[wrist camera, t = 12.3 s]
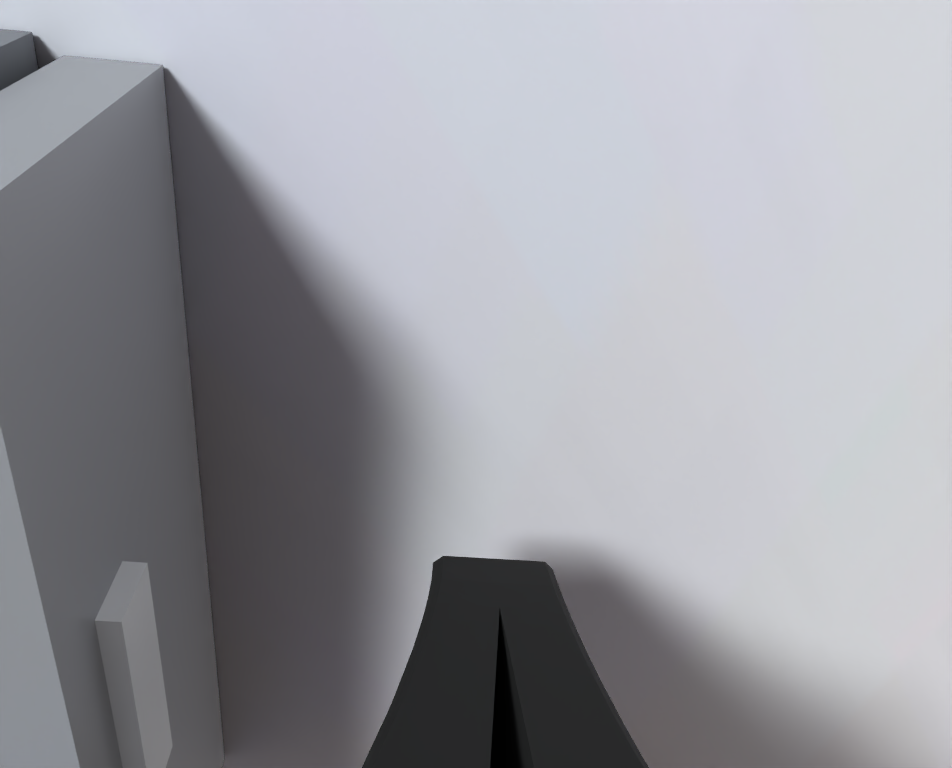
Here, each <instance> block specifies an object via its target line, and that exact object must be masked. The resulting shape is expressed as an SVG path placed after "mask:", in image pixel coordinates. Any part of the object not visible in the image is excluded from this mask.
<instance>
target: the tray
mask: <svg viewBox="0 0 952 768" xmlns="http://www.w3.org/2000/svg"><path fill="white" fill-rule="evenodd" d="M224 759H225V756H224V745H223V733H222V722H221V711H220V700H219V689H218V677H217V666H216V655H215V644H214V633H213V622H212V610H211V599H210V588H209V577H208V566H207V554H206V543H205V532H204V521H203V510H202V498H201V487H200V476H199V465H198V454H197V443H196V431H195V420H194V409H193V398H192V387H191V375H190V364H189V353H188V342H187V331H186V319H185V308H184V297H183V286H182V275H181V264H180V252H179V241H178V230H177V219H176V208H175V196H174V185H173V174H172V163H171V152H170V140H169V129H168V118H167V107H166V96H165V84H164V73H163V65H159V64H148V63H138V62H127V61H117V60H106V59H96V58H85V57H75V56H62V57H60V58H58V59H57V60H55V61H53V62H51V63H49V64H48V65H46V66H44V67H42V68H40V69H39V70H37V71H35V72H33V73H31V74H30V75H28V76H26V77H24V78H22V79H21V80H19V81H17V82H15V83H13V84H12V85H10V86H8V87H6V88H4V89H3V90H1V91H0V768H222V767H223V763H224Z"/></svg>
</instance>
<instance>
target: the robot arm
mask: <svg viewBox="0 0 952 768" xmlns="http://www.w3.org/2000/svg"><path fill="white" fill-rule="evenodd" d="M362 768H649V767H648V766H647V764H646V762H645V761H644V759H643V757H642V756H641V754H640V752H639V750H638V749H637V747H636V745H635V743H634V742H633V740H632V738H631V736H630V735H629V733H628V731H627V729H626V727H625V726H624V724H623V722H622V720H621V718H620V716H619V714H618V712H617V711H616V709H615V707H614V705H613V703H612V701H611V699H610V697H609V695H608V694H607V692H606V690H605V688H604V686H603V684H602V682H601V680H600V678H599V676H598V674H597V672H596V670H595V668H594V666H593V664H592V662H591V660H590V658H589V656H588V654H587V652H586V649H585V647H584V645H583V643H582V641H581V639H580V637H579V634H578V632H577V630H576V628H575V625H574V623H573V621H572V619H571V616H570V614H569V612H568V609H567V607H566V604H565V602H564V599H563V597H562V594H561V592H560V589H559V586H558V584H557V581H556V578H555V575H554V572H553V570H552V568H551V567H550V566H549V565H548V564H547V563H546V562H539V561H522V560H505V559H487V558H470V557H453V556H443V557H441V558H440V559H438V560H436V561H435V562H433V571H432V581H431V586H430V591H429V596H428V600H427V605H426V608H425V612H424V616H423V619H422V622H421V625H420V629H419V632H418V635H417V638H416V641H415V644H414V647H413V650H412V653H411V655H410V658H409V660H408V663H407V665H406V668H405V671H404V673H403V676H402V678H401V681H400V683H399V686H398V689H397V691H396V694H395V696H394V699H393V701H392V704H391V706H390V708H389V711H388V713H387V715H386V717H385V719H384V722H383V724H382V726H381V728H380V730H379V732H378V734H377V737H376V739H375V741H374V743H373V745H372V747H371V749H370V751H369V754H368V756H367V758H366V760H365V762H364V764H363V766H362Z"/></svg>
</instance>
